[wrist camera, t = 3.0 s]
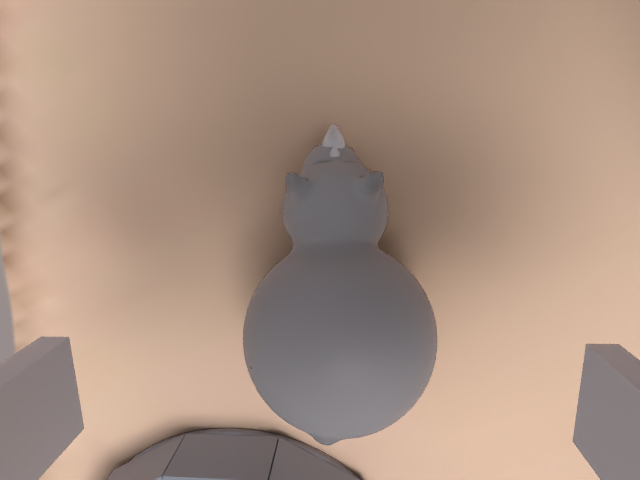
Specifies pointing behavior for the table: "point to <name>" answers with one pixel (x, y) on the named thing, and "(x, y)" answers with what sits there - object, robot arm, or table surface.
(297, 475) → the round tray
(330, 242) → the round bodied animal figurine
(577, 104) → the table surface
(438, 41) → the table surface
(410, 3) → the table surface
